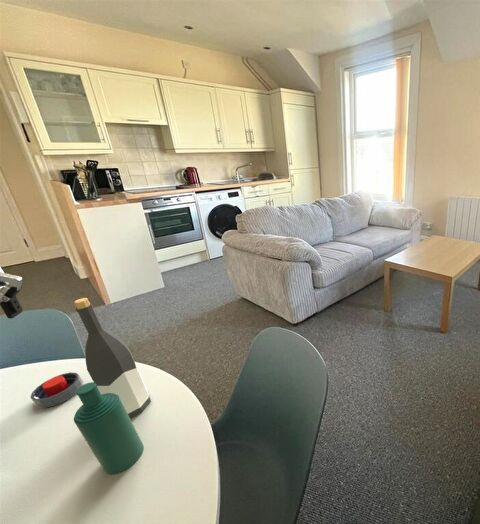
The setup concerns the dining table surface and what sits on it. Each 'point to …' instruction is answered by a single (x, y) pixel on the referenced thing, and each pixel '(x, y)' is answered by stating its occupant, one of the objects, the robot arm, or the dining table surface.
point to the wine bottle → (112, 363)
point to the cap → (55, 385)
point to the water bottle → (107, 429)
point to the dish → (44, 401)
